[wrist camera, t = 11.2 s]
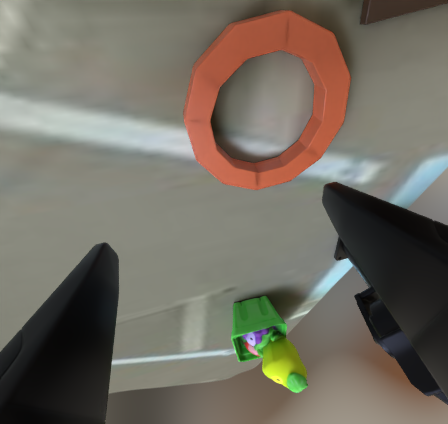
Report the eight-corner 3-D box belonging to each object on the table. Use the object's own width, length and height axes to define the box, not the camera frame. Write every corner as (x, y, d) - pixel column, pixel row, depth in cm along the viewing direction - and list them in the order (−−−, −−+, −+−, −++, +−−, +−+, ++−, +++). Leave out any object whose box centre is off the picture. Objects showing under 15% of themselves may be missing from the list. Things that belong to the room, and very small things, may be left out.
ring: (326, 159, 20) (336, 169, 19) (207, 191, 20) (209, 202, 19) (348, -8, 13) (365, -10, 12) (161, 41, 13) (160, 44, 12)
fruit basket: (223, 300, 33) (240, 397, 25) (282, 286, 34) (319, 378, 25) (233, 330, 41) (248, 412, 33) (281, 318, 41) (308, 397, 33)
